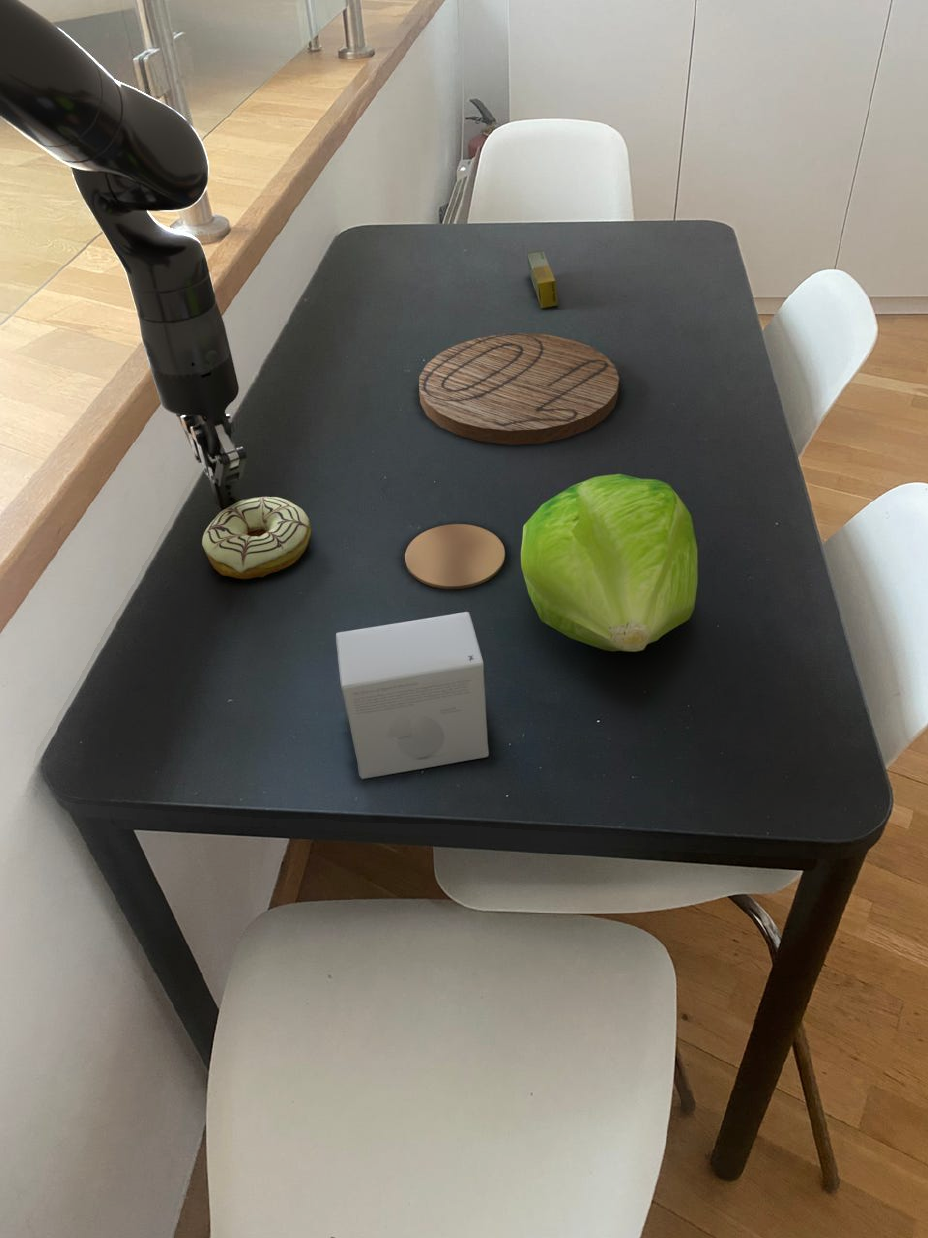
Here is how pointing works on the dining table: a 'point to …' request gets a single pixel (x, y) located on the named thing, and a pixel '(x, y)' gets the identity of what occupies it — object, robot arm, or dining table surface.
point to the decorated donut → (256, 537)
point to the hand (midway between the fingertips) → (228, 505)
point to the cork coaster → (455, 556)
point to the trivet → (518, 388)
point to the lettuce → (612, 562)
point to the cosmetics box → (414, 694)
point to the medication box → (542, 279)
